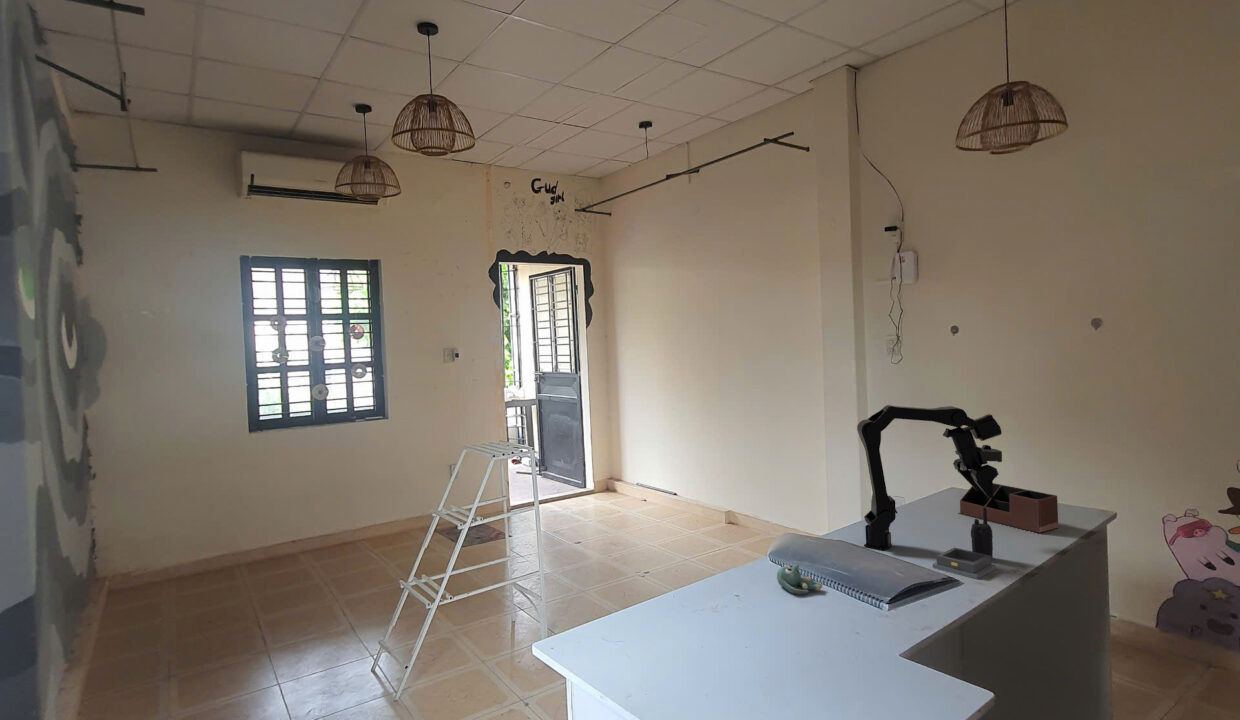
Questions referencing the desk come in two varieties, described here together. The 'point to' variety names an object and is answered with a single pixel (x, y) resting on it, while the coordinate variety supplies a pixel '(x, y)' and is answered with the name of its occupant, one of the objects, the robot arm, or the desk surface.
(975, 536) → the two-way radio
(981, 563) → the charging cradle
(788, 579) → the stuffed animal
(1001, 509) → the desk organizer
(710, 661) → the desk surface
